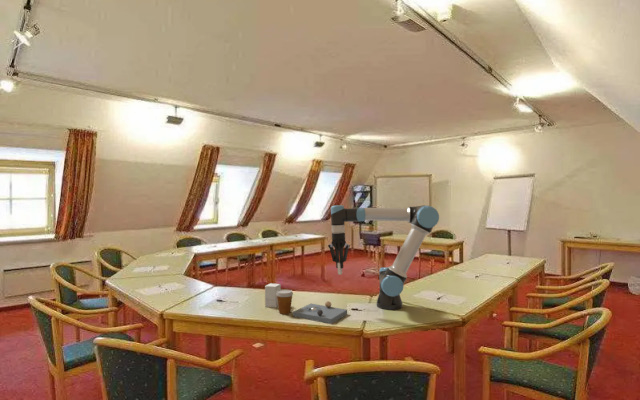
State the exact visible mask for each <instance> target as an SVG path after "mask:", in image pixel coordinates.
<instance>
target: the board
mask: <svg viewBox="0 0 640 400" xmlns="http://www.w3.org/2000/svg"><path fill="white" fill-rule="evenodd" d="M313 307H315V308H316V309H317V310H314V311H311V308H313ZM318 310H322V311H323V314H322V315H321V316H319V315H318V314H317V311H318ZM292 315H293V317H295V318H300V319H306V320H310V321H315V322H320V323H325V324H331V325H332V324H333V323H335V322H337V321H339V319H342V318H343V317H345V316H347V315H348V309H345V308H339V307H333V306H331V307H330V308H327V307H326V306H325V305H322V304H317V303H308V304H306V305H304V306H303V307H300V308H299V309H296V310H294V311H293V312H292Z"/></svg>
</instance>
